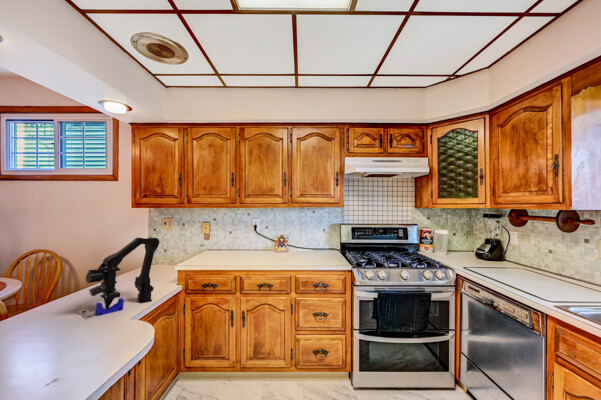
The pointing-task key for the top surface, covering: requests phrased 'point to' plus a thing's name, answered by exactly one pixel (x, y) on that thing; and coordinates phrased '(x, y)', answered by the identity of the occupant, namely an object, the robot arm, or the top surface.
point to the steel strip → (85, 313)
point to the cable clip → (114, 308)
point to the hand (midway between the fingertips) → (107, 308)
